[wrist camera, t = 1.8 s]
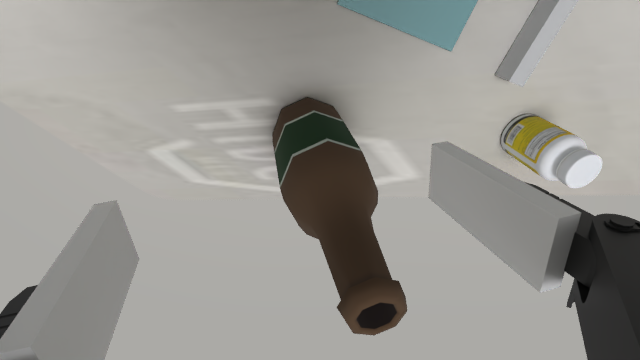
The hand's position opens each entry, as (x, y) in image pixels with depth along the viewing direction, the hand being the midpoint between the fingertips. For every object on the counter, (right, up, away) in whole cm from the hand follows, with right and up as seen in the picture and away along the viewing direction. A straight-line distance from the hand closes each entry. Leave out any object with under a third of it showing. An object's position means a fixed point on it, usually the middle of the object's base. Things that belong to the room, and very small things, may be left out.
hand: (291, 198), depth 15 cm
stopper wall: (+24, +18, +21) cm, 36 cm away
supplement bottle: (+26, +7, +29) cm, 39 cm away
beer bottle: (0, +6, +23) cm, 24 cm away
